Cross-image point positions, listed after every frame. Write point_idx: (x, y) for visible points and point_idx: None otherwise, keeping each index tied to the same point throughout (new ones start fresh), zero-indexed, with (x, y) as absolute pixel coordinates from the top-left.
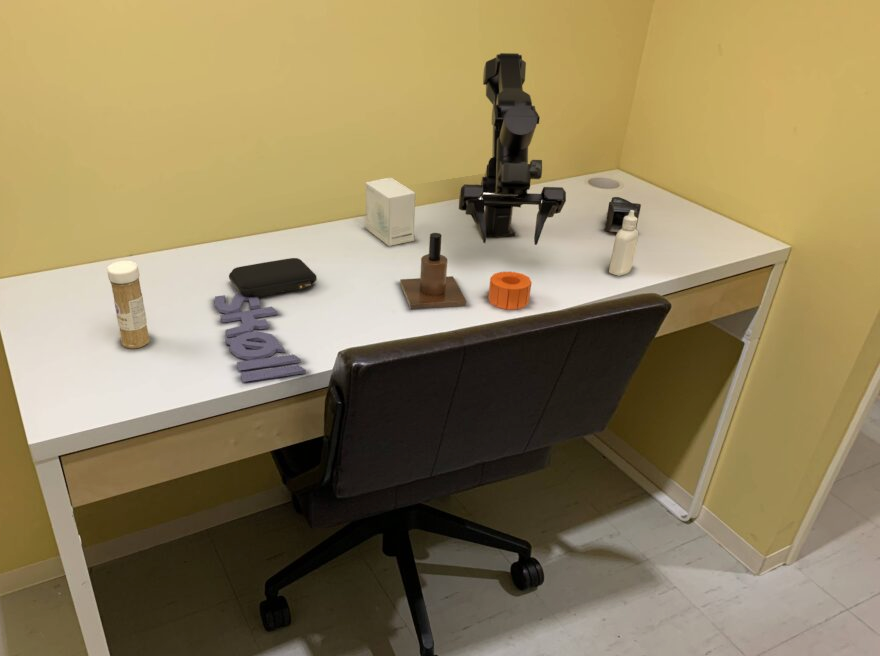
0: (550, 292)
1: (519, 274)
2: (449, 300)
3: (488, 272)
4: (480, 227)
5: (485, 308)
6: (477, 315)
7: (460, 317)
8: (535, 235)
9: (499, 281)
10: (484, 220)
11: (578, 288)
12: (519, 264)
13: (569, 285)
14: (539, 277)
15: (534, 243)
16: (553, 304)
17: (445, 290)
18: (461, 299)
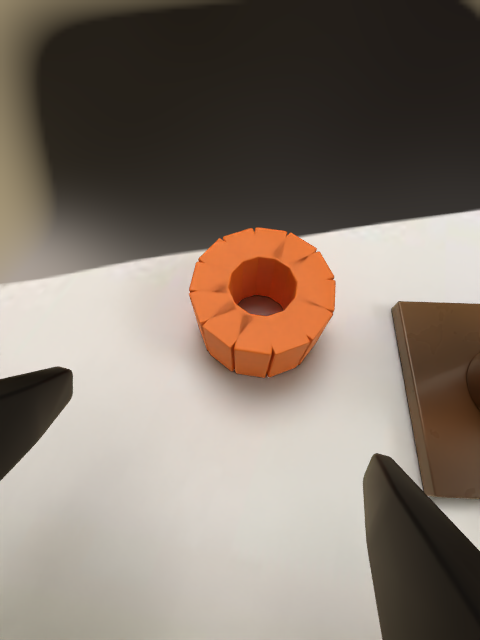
0: (109, 346)
1: (215, 318)
2: (451, 310)
3: (261, 556)
4: (467, 541)
5: (336, 288)
6: (365, 259)
7: (411, 256)
8: (35, 396)
9: (307, 280)
10: (469, 593)
11: (8, 357)
12: (93, 627)
13: None
14: (82, 465)
15: (66, 401)
16: (141, 279)
17: (465, 376)
18: (413, 311)
